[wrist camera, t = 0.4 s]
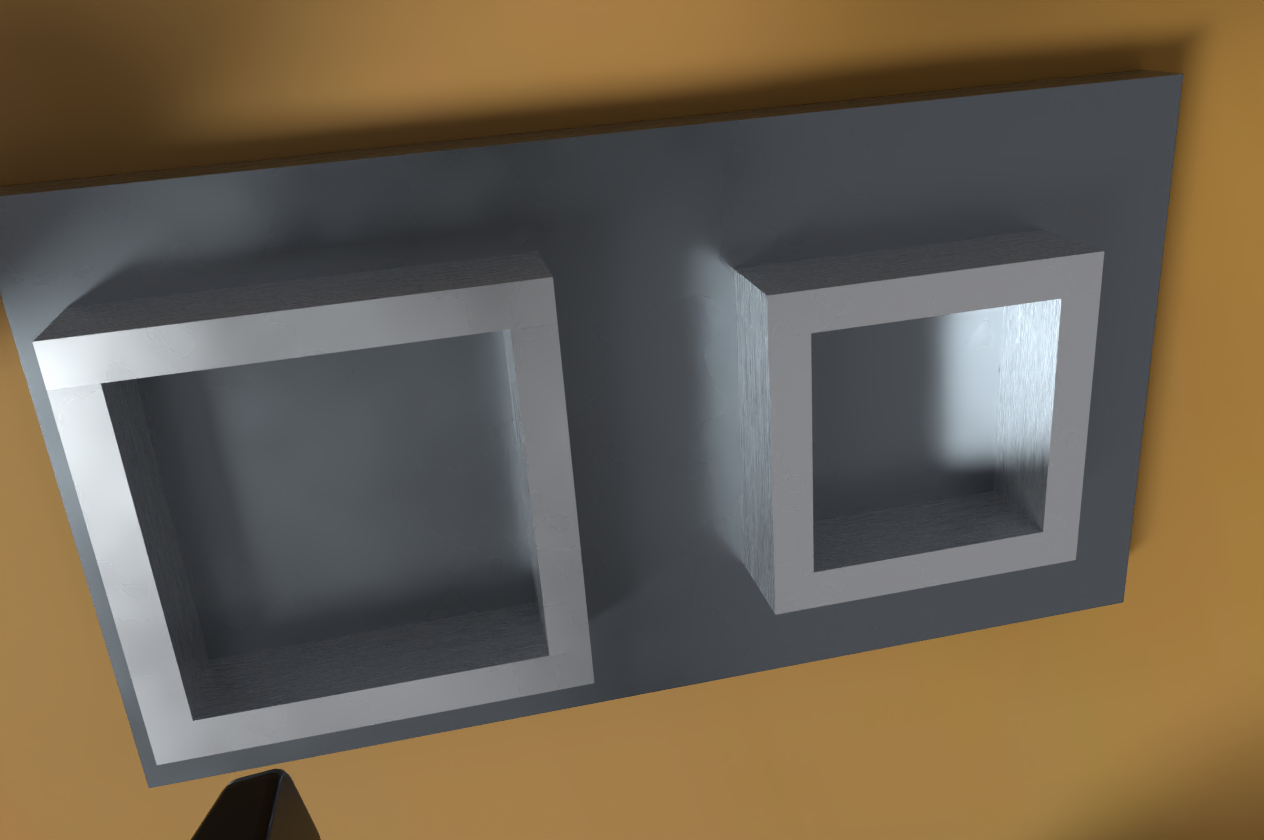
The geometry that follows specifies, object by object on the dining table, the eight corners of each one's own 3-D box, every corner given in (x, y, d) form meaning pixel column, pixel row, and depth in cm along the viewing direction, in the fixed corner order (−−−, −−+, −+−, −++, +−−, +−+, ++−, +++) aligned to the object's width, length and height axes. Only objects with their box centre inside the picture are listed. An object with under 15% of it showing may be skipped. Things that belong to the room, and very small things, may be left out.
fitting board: (1093, 577, 27) (1178, 648, 24) (159, 750, 23) (128, 858, 21) (1144, 70, 23) (1257, 81, 20) (-5, 187, 19) (-75, 223, 16)
